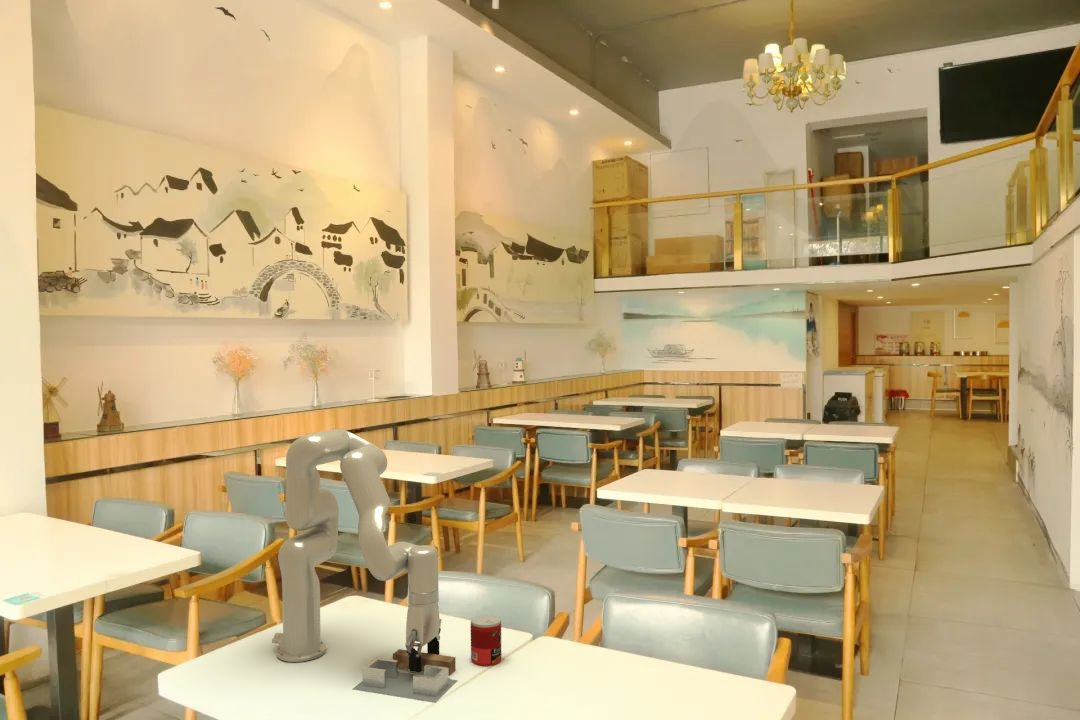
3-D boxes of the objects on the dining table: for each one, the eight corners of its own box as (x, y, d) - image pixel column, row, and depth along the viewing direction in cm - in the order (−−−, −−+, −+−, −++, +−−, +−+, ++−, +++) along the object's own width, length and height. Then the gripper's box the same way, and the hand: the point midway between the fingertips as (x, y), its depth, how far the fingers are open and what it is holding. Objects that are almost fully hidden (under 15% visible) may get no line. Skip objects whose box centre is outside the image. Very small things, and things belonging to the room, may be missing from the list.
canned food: (497, 669, 187) (497, 625, 187) (467, 666, 189) (466, 623, 189) (504, 656, 195) (504, 615, 195) (475, 654, 197) (475, 613, 196)
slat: (392, 669, 188) (392, 653, 188) (399, 664, 191) (399, 649, 191) (449, 678, 183) (449, 662, 183) (455, 673, 186) (455, 657, 186)
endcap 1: (362, 684, 178) (362, 668, 178) (376, 673, 184) (376, 657, 184) (384, 688, 176) (384, 671, 176) (398, 676, 182) (398, 660, 182)
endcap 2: (448, 684, 178) (448, 667, 178) (436, 696, 172) (436, 679, 172) (426, 681, 180) (426, 664, 180) (413, 693, 174) (412, 676, 174)
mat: (351, 690, 176) (351, 689, 176) (378, 669, 187) (378, 668, 187) (435, 704, 169) (435, 702, 169) (457, 681, 180) (457, 680, 180)
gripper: (426, 584, 196) (427, 648, 196) (393, 606, 180) (394, 676, 180) (451, 586, 194) (452, 652, 194) (420, 609, 177) (421, 680, 178)
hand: (424, 663), depth 187 cm, fingers open, 9 cm apart
